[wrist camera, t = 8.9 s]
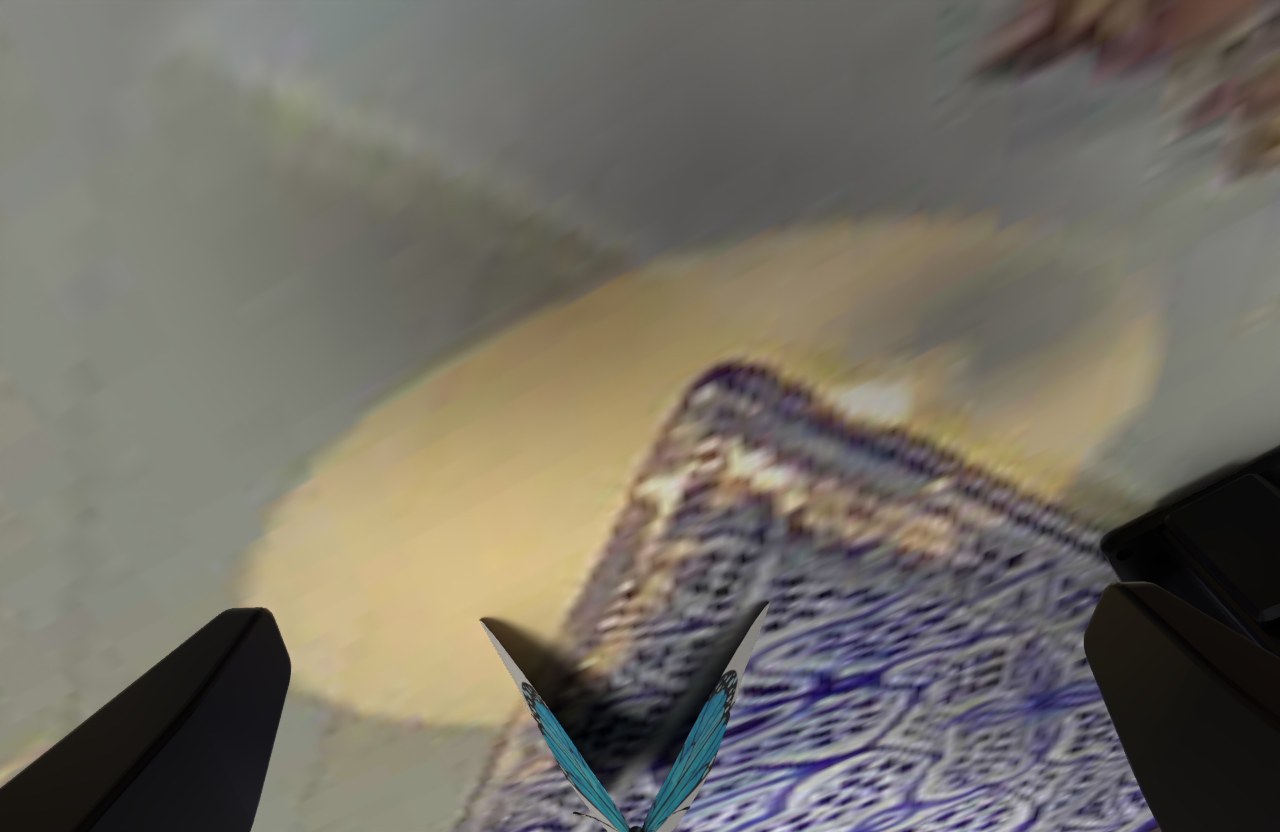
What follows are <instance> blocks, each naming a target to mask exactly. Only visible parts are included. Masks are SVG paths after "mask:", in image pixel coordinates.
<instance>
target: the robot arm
mask: <svg viewBox="0 0 1280 832" xmlns="http://www.w3.org/2000/svg"><path fill="white" fill-rule="evenodd" d="M1101 550H1102V554H1103V555H1104V557H1105V558H1106V560H1107V561H1108V563H1109V564H1110V566H1111V567H1112V569H1113V570H1114V572H1115V573H1116V575H1117V577H1118V578H1119V580H1120V581H1121V582H1116V583H1112V584H1110V585H1109V586H1107V587H1106V588H1105V590H1104V591H1103V593H1102V595H1101V597H1100V600H1099V602H1098V604H1097V606H1096V609H1095V611H1094V613H1093V615H1092V618H1091V620H1090V622H1089V624H1088V626H1087V629H1086V631H1085V634H1084V649H1085V654H1086V657H1087V660H1088V662H1089V665H1090V667H1091V670H1092V672H1093V675H1094V677H1095V680H1096V682H1097V685H1098V687H1099V690H1100V692H1101V695H1102V697H1103V699H1104V702H1105V704H1106V707H1107V709H1108V712H1109V714H1110V717H1111V719H1112V722H1113V724H1114V727H1115V729H1116V732H1117V734H1118V737H1119V739H1120V742H1121V744H1122V747H1123V749H1124V752H1125V754H1126V757H1127V759H1128V762H1129V764H1130V766H1131V769H1132V771H1133V773H1134V776H1135V778H1136V780H1137V783H1138V785H1139V787H1140V789H1141V792H1142V794H1143V796H1144V798H1145V800H1146V802H1147V804H1148V806H1149V808H1150V810H1151V812H1152V814H1153V816H1154V818H1155V820H1156V822H1157V824H1158V826H1159V828H1160V830H1161V831H1162V832H1280V451H1279V452H1277V453H1275V454H1273V455H1271V456H1269V457H1267V458H1265V459H1263V460H1261V461H1259V462H1257V463H1255V464H1253V465H1252V466H1250V467H1248V468H1246V469H1244V470H1242V471H1240V472H1238V473H1236V474H1234V475H1232V476H1230V477H1228V478H1226V479H1224V480H1222V481H1220V482H1218V483H1216V484H1214V485H1212V486H1210V487H1209V488H1207V489H1205V490H1203V491H1201V492H1199V493H1197V494H1195V495H1193V496H1191V497H1189V498H1187V499H1185V500H1183V501H1181V502H1179V503H1177V504H1175V505H1173V506H1171V507H1169V508H1167V509H1165V510H1164V511H1162V512H1160V513H1158V514H1156V515H1154V516H1152V517H1150V518H1148V519H1146V520H1144V521H1142V522H1140V523H1138V524H1136V525H1134V526H1132V527H1130V528H1128V529H1126V530H1124V531H1122V532H1121V533H1119V534H1117V535H1115V536H1113V537H1111V538H1110V539H1108V540H1107V541H1106V542H1105V543H1104V544H1103V546H1102V549H1101ZM290 676H291V662H290V657H289V654H288V652H287V649H286V646H285V644H284V641H283V639H282V636H281V633H280V631H279V628H278V626H277V623H276V621H275V618H274V616H273V614H272V613H271V612H270V611H269V610H268V609H267V608H262V607H256V608H232V609H228V610H226V611H224V612H222V613H221V614H219V615H218V616H216V617H215V618H214V619H213V620H211V621H210V622H209V623H208V624H206V625H205V626H204V627H203V628H201V629H200V630H199V631H198V632H196V633H195V634H194V635H192V636H191V637H190V638H189V639H187V640H186V641H185V642H184V643H182V644H181V645H180V646H179V647H177V648H176V649H175V650H174V651H172V652H171V653H170V654H169V655H167V656H166V657H165V658H164V659H162V660H161V661H160V662H158V663H157V664H156V665H155V666H153V667H152V668H151V669H150V670H148V671H147V672H146V673H145V674H143V675H142V676H141V677H140V678H138V679H137V680H136V681H135V682H133V683H132V684H131V685H130V686H128V687H127V688H126V689H124V690H123V691H122V692H121V693H119V694H118V695H117V696H116V697H114V698H113V699H112V700H111V701H109V702H108V703H107V704H106V705H104V706H103V707H102V708H101V709H99V710H98V711H97V712H96V713H94V714H93V715H92V716H90V717H89V718H88V719H87V720H85V721H84V722H83V723H82V724H80V725H79V726H78V727H77V728H75V729H74V730H73V731H72V732H70V733H69V734H68V735H67V736H65V737H64V738H63V739H62V740H60V741H59V742H58V743H56V744H55V745H54V746H53V747H51V748H50V749H49V750H48V751H46V752H45V753H44V754H43V755H41V756H40V757H39V758H38V759H36V760H35V761H34V762H33V763H31V764H30V765H29V766H28V767H26V768H25V769H24V770H23V771H21V772H20V773H19V774H17V775H16V776H15V777H14V778H12V779H11V780H10V781H9V782H7V783H6V784H5V785H4V786H2V787H1V788H0V832H250V831H251V828H252V825H253V822H254V818H255V815H256V811H257V808H258V804H259V801H260V797H261V793H262V789H263V785H264V781H265V777H266V773H267V769H268V765H269V761H270V757H271V753H272V749H273V745H274V741H275V738H276V734H277V730H278V726H279V722H280V718H281V714H282V710H283V706H284V702H285V698H286V694H287V690H288V686H289V682H290Z"/></svg>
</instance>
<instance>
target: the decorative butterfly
mask: <svg viewBox="0 0 1280 832" xmlns="http://www.w3.org/2000/svg"><path fill="white" fill-rule="evenodd" d="M769 604H770V603H769ZM769 604H767V606H766V607H765V608H764V609H763V611H762V612H761V613H760V615H759V616H758V617H757V619H756V620H755V622H754V623H753V625H752V626H751V628H750V629H749V631H748V633H747V634H746V636H745V638H744V639H743V641H742V643H741V644H740V646H739V648H738V649H737V651H736V653H735V654H734V656H733V658H732V659H731V661H730V663H729V664H728V666H727V668H726V669H725V671H724V673H723V675H722V676H721V678H720V680H719V681H718V683H717V685H716V686H715V688H714V690H713V692H712V693H711V695H710V697H709V699H708V700H707V702H706V704H705V706H704V708H703V709H702V711H701V713H700V715H699V717H698V719H697V720H696V722H695V724H694V726H693V728H692V730H691V732H690V734H689V736H688V738H687V739H686V741H685V743H684V745H683V747H682V749H681V751H680V753H679V755H678V757H677V759H676V761H675V763H674V765H673V767H672V769H671V771H670V772H669V774H668V776H667V778H666V780H665V782H664V784H663V785H662V787H661V789H660V791H659V793H658V794H657V796H656V798H655V800H654V802H653V804H652V806H651V808H650V810H649V812H648V814H647V817H646V819H645V822H644V825H643V828H640V827H638V826H634V827H632V828H630V827H629V826H628V824H627V822H626V820H625V818H624V817H623V815H622V813H621V812H620V810H619V809H618V807H617V806H616V805H615V803H614V802H613V800H612V799H611V797H610V796H609V795H608V793H607V792H606V790H605V789H604V788H603V786H602V785H601V783H600V782H599V781H598V779H597V778H596V776H595V775H594V773H593V772H592V770H591V769H590V768H589V766H588V765H587V763H586V762H585V760H584V759H583V757H582V756H581V754H580V753H579V751H578V750H577V748H576V747H575V745H574V744H573V742H572V741H571V739H570V738H569V737H568V735H567V734H566V732H565V731H564V729H563V728H562V727H561V725H560V724H559V722H558V721H557V719H556V718H555V717H554V715H553V714H552V712H551V711H550V710H549V708H548V707H547V706H546V704H545V703H544V701H543V700H542V699H541V697H540V696H539V695H538V693H537V692H536V691H535V689H534V688H533V686H532V685H531V684H530V682H529V681H528V680H527V678H526V677H525V676H524V674H523V673H522V672H521V670H520V669H519V668H518V666H517V665H516V664H515V662H514V661H513V660H512V658H511V657H510V656H509V654H508V653H507V652H506V650H505V649H504V648H503V646H502V645H501V644H500V642H499V641H498V640H497V639H496V637H495V636H494V635H493V634H492V633H491V631H490V630H489V629H488V628H487V627H486V626H485V624H484V623H483V622H482V621H481V620H480V622H481V624H482V626H483V628H484V629H485V631H486V633H487V635H488V637H489V638H490V640H491V642H492V644H493V646H494V647H495V649H496V651H497V653H498V654H499V656H500V658H501V660H502V661H503V663H504V665H505V667H506V668H507V670H508V671H509V673H510V675H511V676H512V678H513V680H514V682H515V683H516V685H517V687H518V689H519V691H520V693H521V695H522V697H523V700H524V702H525V705H526V707H527V709H528V710H529V712H530V713H531V715H532V716H533V718H534V719H535V720H536V721H537V722H538V724H539V725H538V727H539V729H540V731H541V733H542V735H543V736H544V738H545V740H546V742H547V744H548V746H549V748H550V749H551V751H552V753H553V755H554V757H555V758H556V760H557V762H558V764H559V766H560V768H561V769H562V771H563V773H564V775H565V776H566V778H567V779H568V781H569V782H570V784H571V785H572V787H573V788H574V789H575V791H576V792H577V793H578V795H579V796H580V797H581V799H582V800H583V801H584V803H585V804H586V805H587V807H588V808H589V809H590V810H591V812H592V813H593V814H594V816H595V817H596V818H597V819H596V818H594V817H591V816H588V815H584V814H581V813H578V812H573V814H574V815H583V816H587V817H590V818H593V819H596V820H598V821H599V822H600V823H601V824H602V825H603V827H604V828H605V829H606V830H607V831H608V832H671V831H672V830H673V829H674V828H675V827H676V826H677V824H678V823H679V821H680V820H681V819H682V817H683V816H684V814H685V813H686V811H687V810H688V809H690V805H691V803H692V802H693V800H694V798H695V797H696V795H697V794H698V792H699V790H700V789H701V787H702V785H703V783H704V782H705V780H706V778H707V776H708V774H709V772H710V771H711V768H712V766H713V763H714V760H715V758H716V755H717V752H718V749H719V746H720V743H721V741H722V738H723V735H724V732H725V729H726V726H727V723H728V720H729V717H730V714H727V713H728V712H729V711H730V709H731V708H732V706H733V704H734V703H735V701H736V699H737V696H738V693H739V689H740V684H741V680H742V677H743V673H744V671H745V668H746V666H747V663H748V661H749V658H750V656H751V653H752V651H753V648H754V646H755V643H756V640H757V638H758V635H759V632H760V629H761V627H762V624H763V621H764V618H765V616H766V613H767V610H768V607H769Z"/></svg>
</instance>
